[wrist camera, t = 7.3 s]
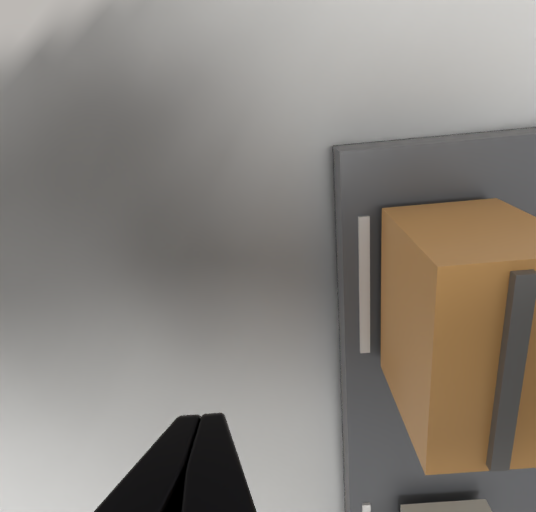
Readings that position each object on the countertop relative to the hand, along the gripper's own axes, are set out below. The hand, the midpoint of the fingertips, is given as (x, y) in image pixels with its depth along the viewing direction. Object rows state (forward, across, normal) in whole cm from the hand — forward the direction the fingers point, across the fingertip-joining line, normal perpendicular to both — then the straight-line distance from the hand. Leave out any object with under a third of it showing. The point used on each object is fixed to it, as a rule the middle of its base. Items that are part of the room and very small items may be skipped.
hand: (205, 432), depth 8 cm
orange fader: (+5, -6, 0) cm, 8 cm away
